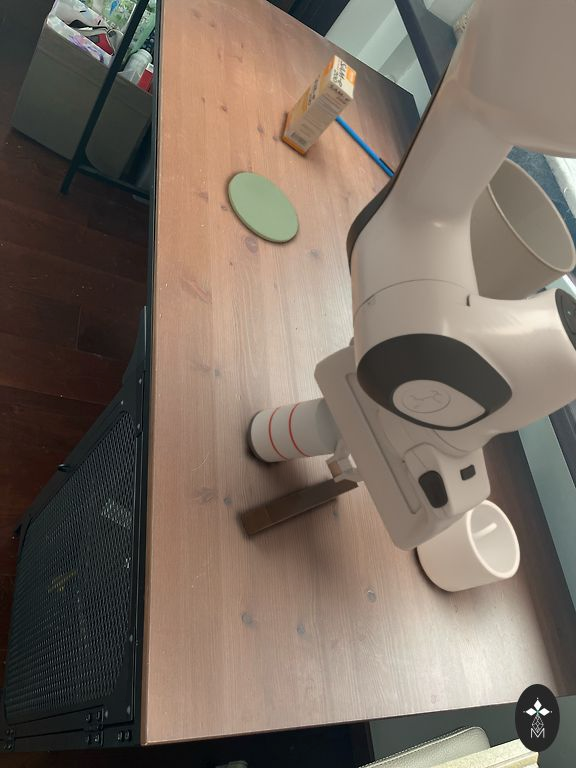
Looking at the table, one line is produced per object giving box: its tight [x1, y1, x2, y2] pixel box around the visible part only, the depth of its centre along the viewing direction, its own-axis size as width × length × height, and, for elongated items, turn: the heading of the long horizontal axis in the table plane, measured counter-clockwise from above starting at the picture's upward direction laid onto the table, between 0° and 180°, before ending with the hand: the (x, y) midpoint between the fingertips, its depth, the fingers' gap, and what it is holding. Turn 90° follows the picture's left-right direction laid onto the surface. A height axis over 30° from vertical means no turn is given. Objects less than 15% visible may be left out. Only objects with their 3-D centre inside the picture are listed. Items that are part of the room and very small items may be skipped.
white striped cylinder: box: [247, 396, 343, 463], centre depth 68 cm, size 6×11×11 cm, turn 32°
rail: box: [240, 477, 359, 536], centre depth 68 cm, size 14×2×4 cm, turn 120°
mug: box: [416, 499, 521, 592], centre depth 79 cm, size 12×10×9 cm
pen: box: [335, 115, 395, 178], centre depth 118 cm, size 1×19×1 cm, turn 64°
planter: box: [470, 157, 576, 300], centre depth 91 cm, size 19×19×26 cm
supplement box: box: [281, 54, 357, 156], centre depth 101 cm, size 8×5×13 cm, turn 171°
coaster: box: [227, 171, 299, 243], centre depth 91 cm, size 12×12×1 cm
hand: (334, 470), depth 65 cm, fingers closed
